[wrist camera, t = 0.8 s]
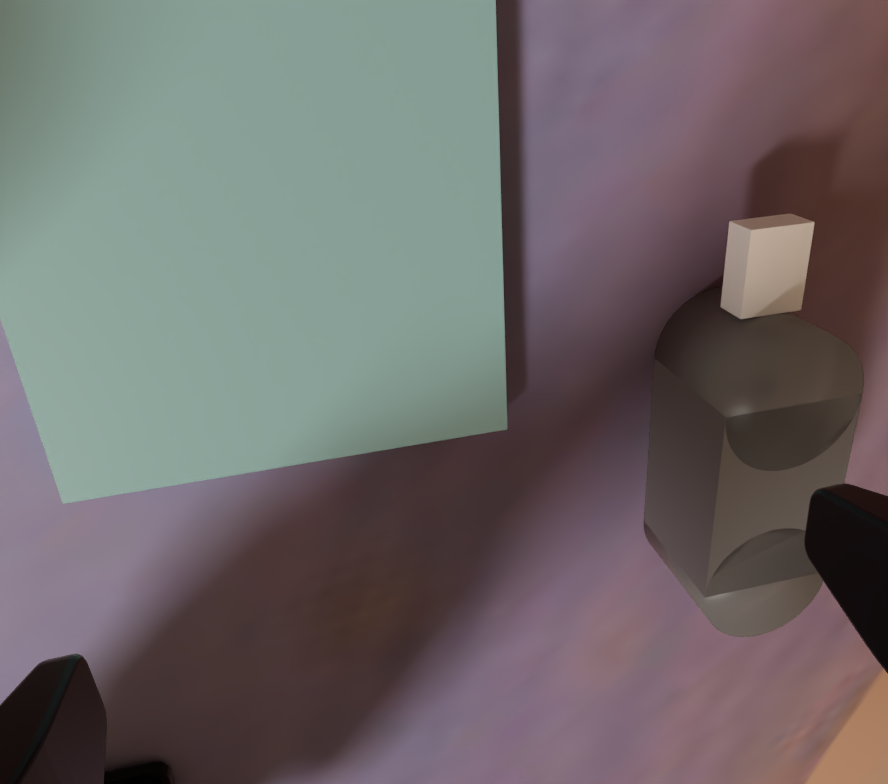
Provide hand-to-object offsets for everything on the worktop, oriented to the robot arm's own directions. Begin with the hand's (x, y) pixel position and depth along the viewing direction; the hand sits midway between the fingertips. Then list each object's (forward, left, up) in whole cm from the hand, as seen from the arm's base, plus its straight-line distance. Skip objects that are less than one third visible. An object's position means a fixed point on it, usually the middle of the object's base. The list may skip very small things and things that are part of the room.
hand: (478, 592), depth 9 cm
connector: (-5, -11, -13) cm, 17 cm away
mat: (+3, +2, -12) cm, 13 cm away
